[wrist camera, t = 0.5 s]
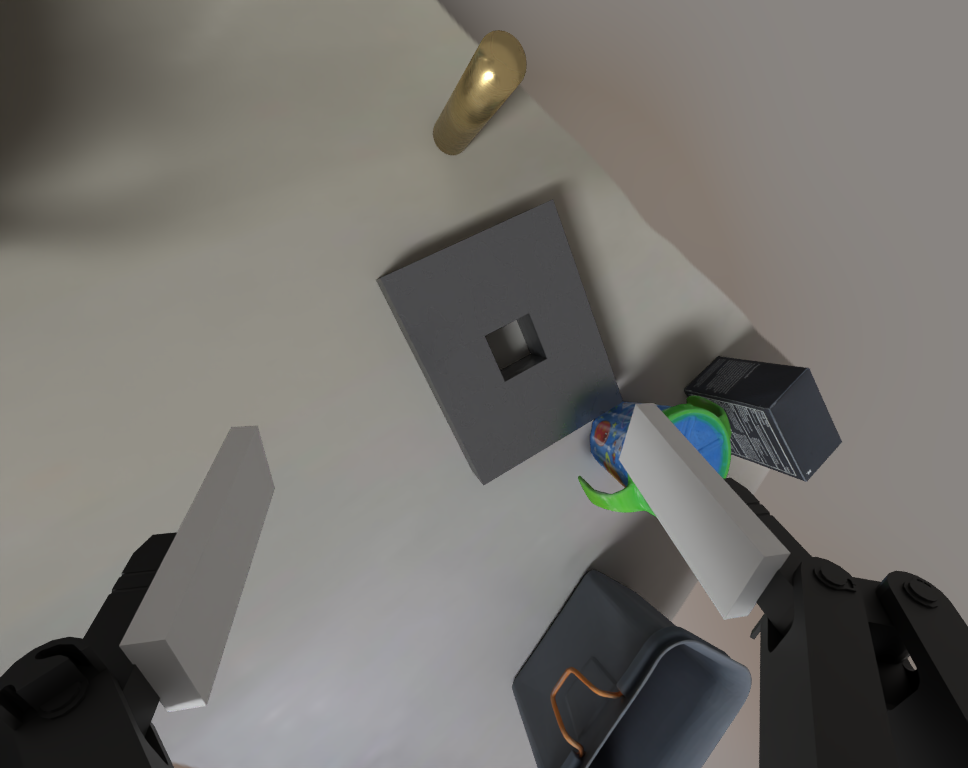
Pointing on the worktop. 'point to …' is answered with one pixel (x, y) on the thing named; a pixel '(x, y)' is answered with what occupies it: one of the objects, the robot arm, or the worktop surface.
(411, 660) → the worktop surface
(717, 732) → the storage bin
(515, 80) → the brass pin
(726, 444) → the snack cup
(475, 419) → the plate
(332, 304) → the worktop surface
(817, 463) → the small box
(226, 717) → the worktop surface
